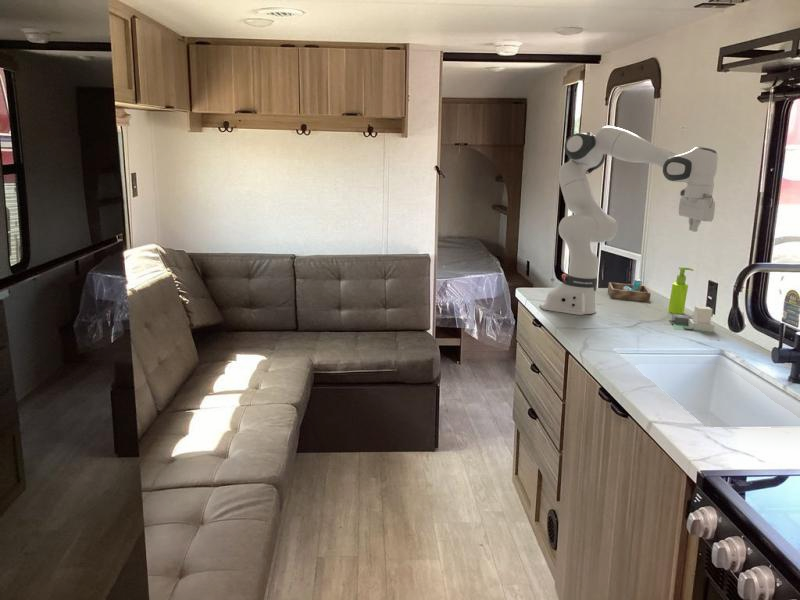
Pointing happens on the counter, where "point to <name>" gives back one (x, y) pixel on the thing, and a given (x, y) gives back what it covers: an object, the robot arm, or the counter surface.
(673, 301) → the soap dispenser
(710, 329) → the compartment tray
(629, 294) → the wooden tray
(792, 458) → the counter surface
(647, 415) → the counter surface
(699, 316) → the plug
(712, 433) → the counter surface
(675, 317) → the grey sponge
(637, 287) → the teal container
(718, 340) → the counter surface
